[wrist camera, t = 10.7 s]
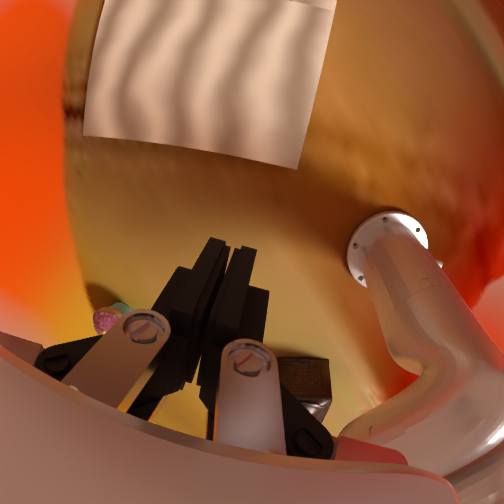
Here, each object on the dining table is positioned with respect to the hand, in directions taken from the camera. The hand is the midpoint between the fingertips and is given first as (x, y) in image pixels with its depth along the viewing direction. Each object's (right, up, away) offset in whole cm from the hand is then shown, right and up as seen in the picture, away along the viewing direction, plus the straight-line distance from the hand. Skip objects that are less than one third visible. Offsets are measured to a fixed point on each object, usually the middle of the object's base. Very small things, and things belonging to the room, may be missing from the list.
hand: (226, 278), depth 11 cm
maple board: (-5, +28, +17) cm, 34 cm away
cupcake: (-23, -10, +41) cm, 48 cm away
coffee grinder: (+8, -23, +44) cm, 50 cm away
